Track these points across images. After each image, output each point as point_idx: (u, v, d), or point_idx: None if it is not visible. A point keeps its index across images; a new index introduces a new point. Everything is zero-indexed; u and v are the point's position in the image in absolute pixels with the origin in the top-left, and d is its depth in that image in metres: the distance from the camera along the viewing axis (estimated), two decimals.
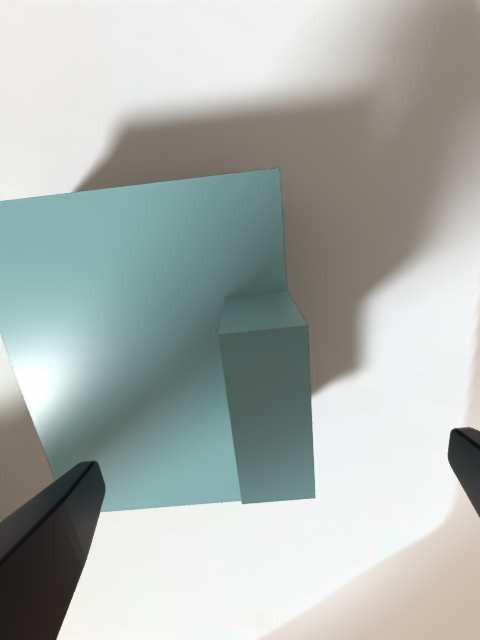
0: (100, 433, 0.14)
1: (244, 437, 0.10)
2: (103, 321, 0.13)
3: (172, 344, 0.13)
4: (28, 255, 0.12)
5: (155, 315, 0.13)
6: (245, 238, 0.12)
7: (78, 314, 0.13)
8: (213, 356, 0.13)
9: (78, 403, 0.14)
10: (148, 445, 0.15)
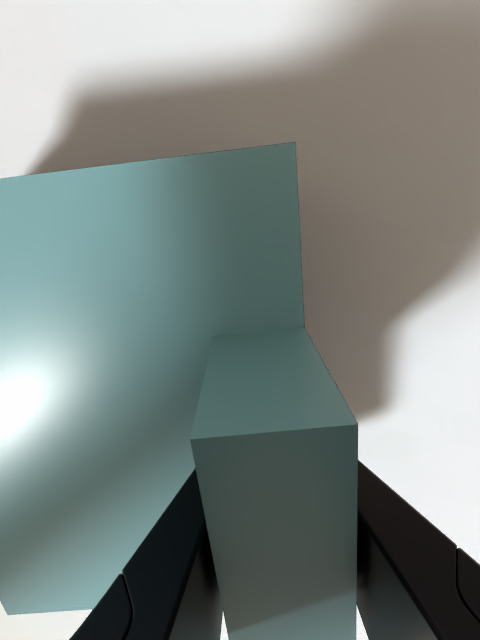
0: (43, 518, 0.10)
1: (241, 595, 0.06)
2: (37, 371, 0.09)
3: (138, 402, 0.09)
4: None
5: (111, 362, 0.09)
6: (242, 251, 0.08)
7: None
8: None
9: (9, 480, 0.10)
10: (110, 532, 0.11)
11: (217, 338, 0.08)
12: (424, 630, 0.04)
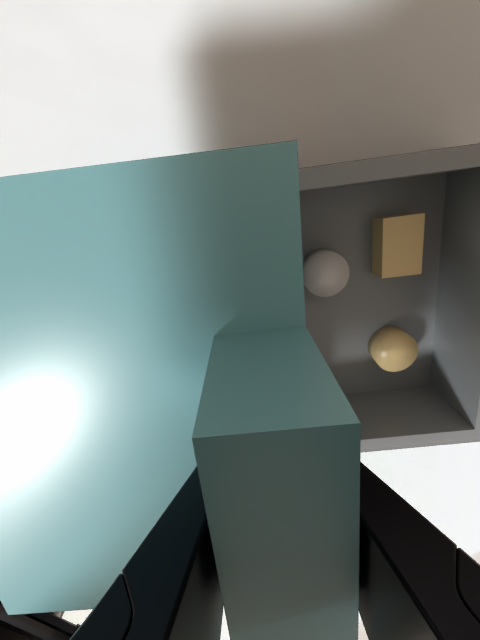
0: (43, 517, 0.10)
1: (242, 595, 0.06)
2: (37, 371, 0.09)
3: (138, 402, 0.09)
4: None
5: (112, 362, 0.09)
6: (243, 250, 0.08)
7: (0, 360, 0.09)
8: None
9: (10, 479, 0.10)
10: (111, 532, 0.11)
11: (218, 337, 0.08)
12: (424, 630, 0.04)
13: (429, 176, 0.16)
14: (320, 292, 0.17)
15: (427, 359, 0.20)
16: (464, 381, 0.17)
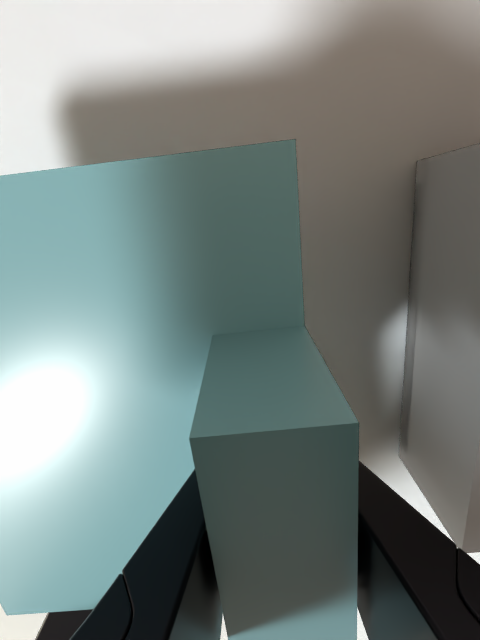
0: (41, 517, 0.10)
1: (241, 595, 0.06)
2: (35, 370, 0.09)
3: (137, 401, 0.09)
4: None
5: (110, 361, 0.09)
6: (242, 249, 0.08)
7: None
8: None
9: (8, 479, 0.10)
10: (109, 532, 0.11)
11: (217, 337, 0.08)
12: (424, 630, 0.04)
13: None
14: None
15: None
16: None
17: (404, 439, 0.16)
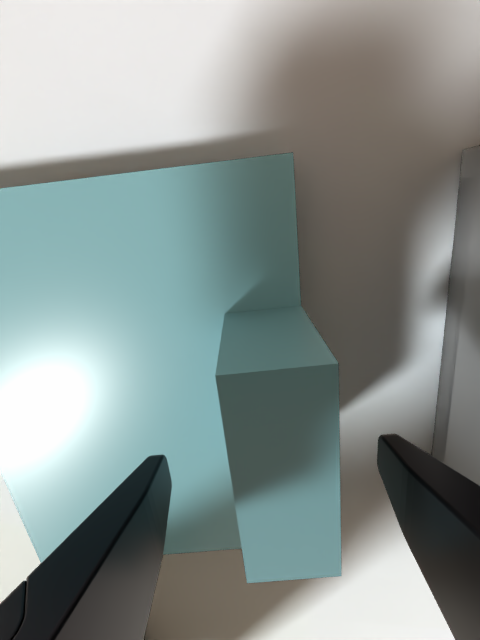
0: (76, 474, 0.12)
1: (250, 505, 0.07)
2: (76, 343, 0.10)
3: (160, 370, 0.11)
4: None
5: (139, 336, 0.10)
6: (250, 242, 0.09)
7: (45, 334, 0.10)
8: (210, 384, 0.11)
9: (49, 439, 0.12)
10: None
11: (228, 314, 0.10)
12: None
13: None
14: None
15: None
16: None
17: None
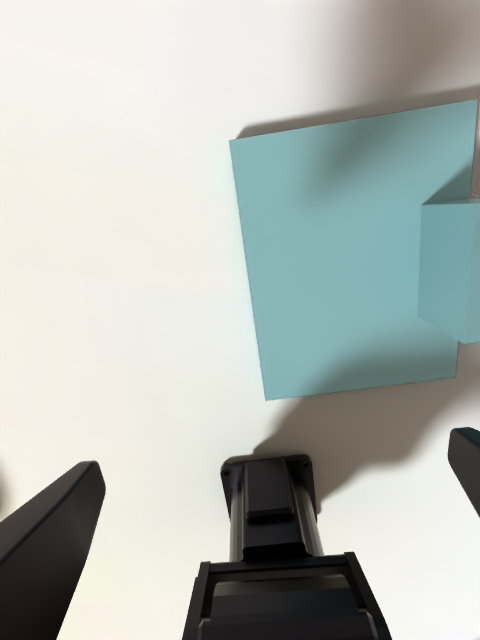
0: (304, 326, 0.18)
1: (477, 287, 0.14)
2: (324, 229, 0.17)
3: (374, 246, 0.17)
4: (277, 177, 0.16)
5: (365, 222, 0.17)
6: (444, 156, 0.15)
7: (306, 223, 0.17)
8: (404, 255, 0.17)
9: (292, 300, 0.18)
10: (340, 335, 0.19)
11: (425, 204, 0.16)
12: None
13: None
14: None
15: None
16: None
17: None
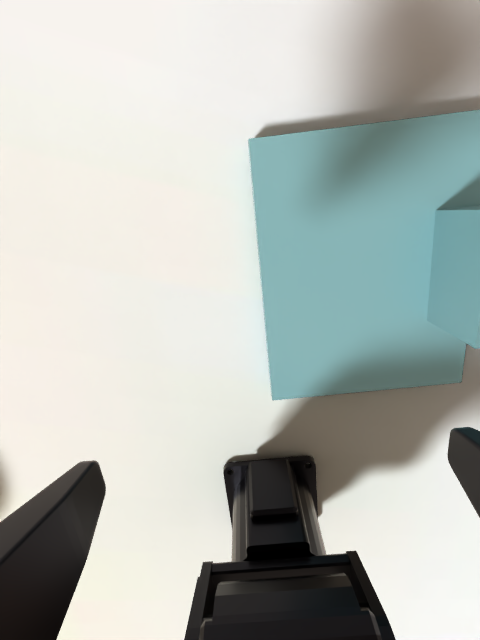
0: (314, 327, 0.18)
1: None
2: (339, 231, 0.17)
3: (387, 250, 0.17)
4: (295, 177, 0.16)
5: (379, 226, 0.17)
6: (460, 163, 0.16)
7: (322, 224, 0.17)
8: (417, 260, 0.17)
9: (304, 300, 0.18)
10: (350, 337, 0.19)
11: (440, 210, 0.16)
12: None
13: None
14: None
15: None
16: None
17: None
